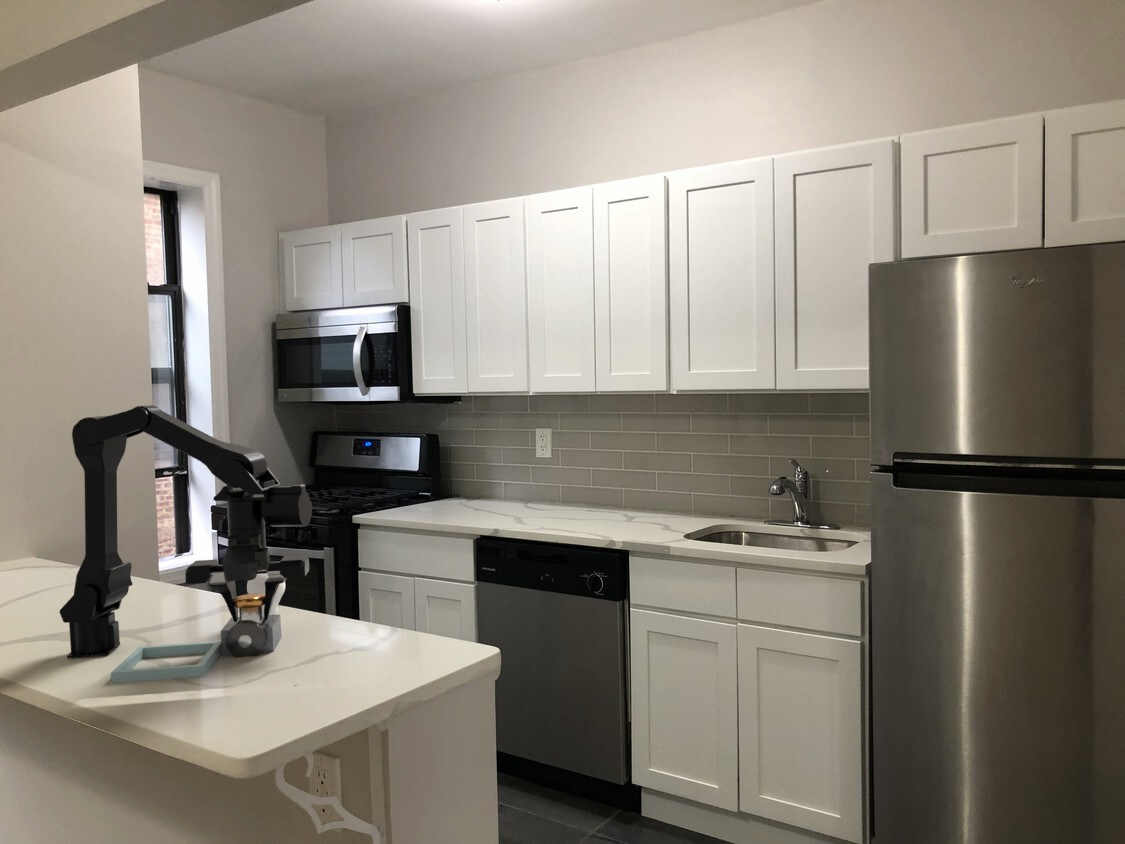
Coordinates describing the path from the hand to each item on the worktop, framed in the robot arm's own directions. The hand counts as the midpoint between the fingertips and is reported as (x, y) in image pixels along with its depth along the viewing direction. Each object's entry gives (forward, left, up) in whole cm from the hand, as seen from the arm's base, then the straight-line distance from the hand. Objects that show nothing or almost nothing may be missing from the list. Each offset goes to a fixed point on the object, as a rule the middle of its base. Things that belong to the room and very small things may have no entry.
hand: (251, 620), depth 150 cm
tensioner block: (0, 0, -5) cm, 5 cm away
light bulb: (0, +15, -6) cm, 16 cm away
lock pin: (0, 0, -4) cm, 4 cm away
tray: (-11, -7, -5) cm, 14 cm away
